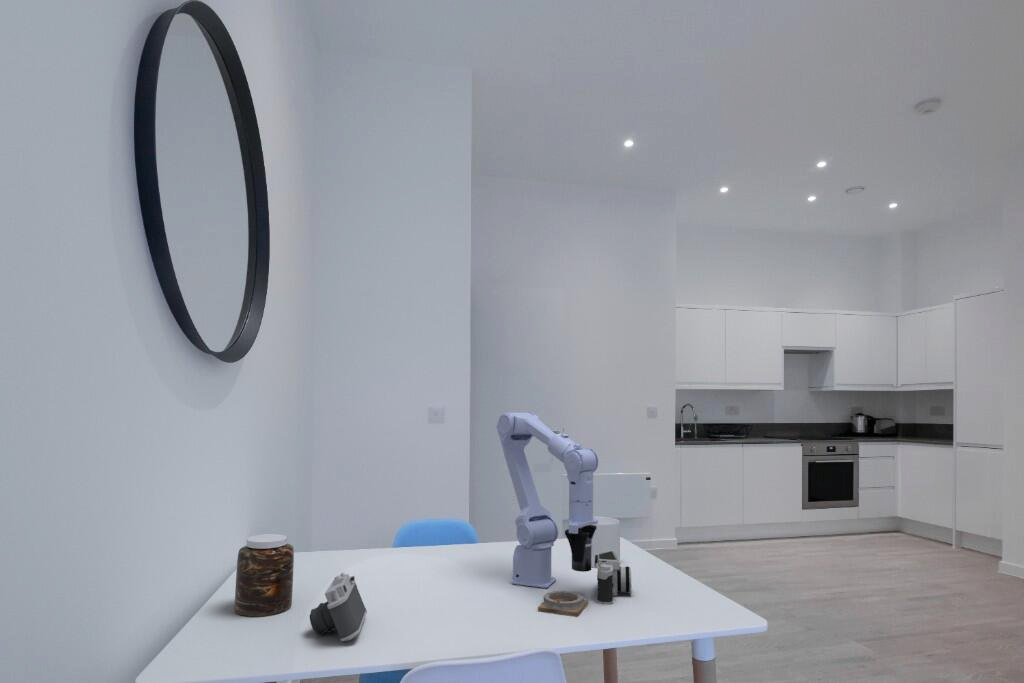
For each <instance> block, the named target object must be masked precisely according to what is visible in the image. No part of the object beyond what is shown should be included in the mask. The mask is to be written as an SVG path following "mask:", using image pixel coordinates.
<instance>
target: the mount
mask: <svg viewBox="0 0 1024 683" xmlns="http://www.w3.org/2000/svg"><path fill="white" fill-rule="evenodd" d="M588 605H589V600H588V599H584V597H583V595H582V594H580V593H577V592H574V591H567V590H554V591H549V592H546V593H545V594H543V601H542V602H541V603H540V604H539V606H537V611H538V612H542V613H549V614H556V615H557V614H558V615H563V616H570V617H579V616H580V614H582V612H583V611H584V610H585V608H586V607H587V606H588Z"/></svg>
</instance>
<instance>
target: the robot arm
mask: <svg viewBox="0 0 1024 683" xmlns="http://www.w3.org/2000/svg"><path fill="white" fill-rule="evenodd" d="M496 430H497V432H498V436H499V439H500V444H501V446H502V452H503V455H504V458H505V462H506V465H507V469H508V472H509V475H510V478H511V482H512V485H513V488H514V492H515V496H516V499H517V502H518V506H519V509H520V512H519V514H518V515H517V517H516V519H515V520H514V522H515V527H516V538H517V541H518V543H519V544H517V545H516V546H515V548H514V550H513V555H512V557H513V558H512V581H511V584H512V585H519V586H525V587H526V586H527V587H528V586H529V587H534V588H543V589H548V588H549V587H550V586H551V585H552V584H554V583H555V582H556V581H557V578H556V577H552V547H554V543H555V542H556V541H557V540H558V537H559V528H558V524H557V523H556V521H555V520H554V518H553V517H552V514H551V511H549V510H548V509H547V508H545V507H544V506H543V505H541V501H540V499H539V495H538V492H537V488H536V486H535V482H534V479H533V478H534V477H533V476H532V473H531V469H530V466H529V462H528V460H527V457H526V454H525V451H524V450H525V447H526V446H528V445H529V444H530V441H531V440H532V438H533V437H534V438H536V439H537V440H539V441H540V442H542V443H543V444H545V445H546V446H547V449H548V452H549V453H550V454H551V455H552V456H554V458H556V459H557V460H559V461H560V462H561V463H562V464H563V466H564V469H565V471H566V473H567V474H566V476H567V477H566V478H567V481H568V519H567V522H568V528H566V529H565V530H564V535H565V537H566V539H567V540H568V541H567V542H568V543H569V548H570V551H571V558H572V557H573V561H574V562H581V563H582V562H583V559H584V553H585V546H586V542H587V539H588V537H590V538H591V539H592V538H593V535H594V532H595V530H596V528H597V526H595V525H591V524H597V523H598V520H594V519H593V517H594V472H595V471H596V470H597V469H598V468H599V458H598V455H597V453H596V451H594V450H593V448H589V447H587V448H583V447H582V444H580V443H576V442H575V441H573V440H572V439H571V438H569V435H568V434H567V433H555V432H554V431H552V429H550V428H549V427H548V426H547V425H546V424H544V423H543V422H542V421H541V420H540V417H539V416H538V415H537V414H535V413H533V412H532V411H527V412H508V411H504V412H502V413H501V414H500V416H499V418H498V421H497V424H496Z"/></svg>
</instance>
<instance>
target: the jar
mask: <svg viewBox="0 0 1024 683" xmlns="http://www.w3.org/2000/svg"><path fill="white" fill-rule="evenodd" d="M287 538H288V537H287V536H286V535H285V534H280V533H264V534H255V535H251V536H249V537H248V538H246V544H245V545H244V546H242V547H241V548H240V549H238V553H237V559H236V560H237V561H236V576H235V591H234V592H235V593H234V612H235V613H236V614H237V615H239V616H243V617H251V618H252V617H255V618H257V617H259V618H261V617H268V616H274V615H279V614H282V613H284V612H286V611H288V610H289V609H292V605H293V604H292V603H293V586H294V585H293V584H294V566H295V565H294V563H295V562H294V559H295V556H294V555H295V553H294V551H295V550H294V547H293V546H294V545H292V544H289V543H288V542H287Z"/></svg>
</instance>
